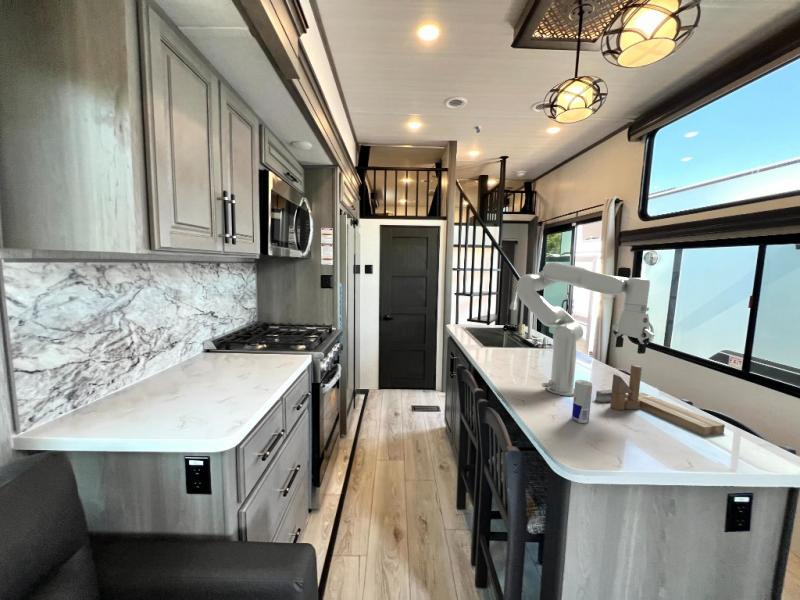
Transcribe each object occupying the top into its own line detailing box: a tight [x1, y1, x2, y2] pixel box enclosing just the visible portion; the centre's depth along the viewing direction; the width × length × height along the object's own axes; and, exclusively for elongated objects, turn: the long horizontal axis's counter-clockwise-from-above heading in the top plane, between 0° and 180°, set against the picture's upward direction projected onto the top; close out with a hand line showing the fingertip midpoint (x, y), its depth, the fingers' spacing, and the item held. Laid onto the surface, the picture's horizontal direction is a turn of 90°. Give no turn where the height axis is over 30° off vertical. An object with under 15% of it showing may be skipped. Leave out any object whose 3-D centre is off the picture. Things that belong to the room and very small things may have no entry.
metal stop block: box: [595, 389, 613, 403], centre depth 143 cm, size 10×3×4 cm, turn 105°
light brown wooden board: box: [625, 392, 726, 437], centre depth 130 cm, size 10×30×3 cm, turn 15°
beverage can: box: [571, 379, 593, 424], centre depth 122 cm, size 6×6×15 cm
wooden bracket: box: [609, 364, 643, 411], centre depth 134 cm, size 4×11×18 cm, turn 100°
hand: (629, 350), depth 133 cm, fingers open, 9 cm apart
